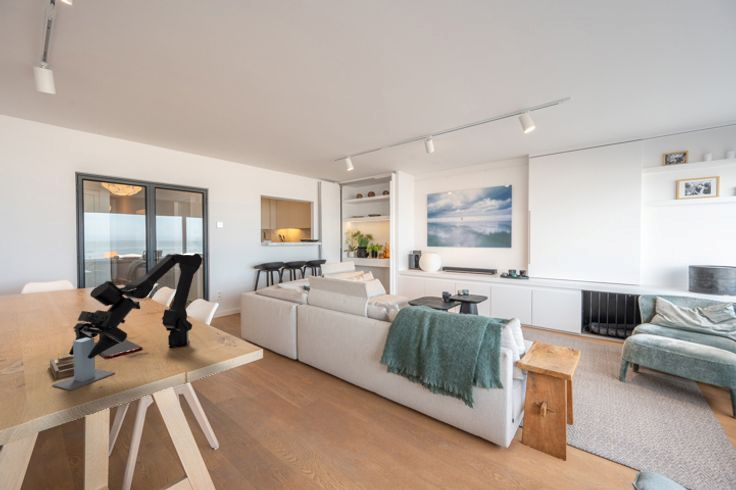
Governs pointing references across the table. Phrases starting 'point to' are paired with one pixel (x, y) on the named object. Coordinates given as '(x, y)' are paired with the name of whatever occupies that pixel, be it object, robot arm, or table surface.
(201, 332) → the table surface
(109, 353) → the smartphone
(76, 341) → the block
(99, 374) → the mat
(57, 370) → the rack
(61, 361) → the offcut stack
